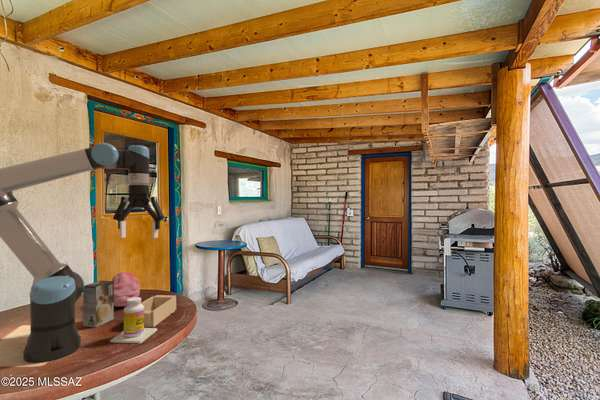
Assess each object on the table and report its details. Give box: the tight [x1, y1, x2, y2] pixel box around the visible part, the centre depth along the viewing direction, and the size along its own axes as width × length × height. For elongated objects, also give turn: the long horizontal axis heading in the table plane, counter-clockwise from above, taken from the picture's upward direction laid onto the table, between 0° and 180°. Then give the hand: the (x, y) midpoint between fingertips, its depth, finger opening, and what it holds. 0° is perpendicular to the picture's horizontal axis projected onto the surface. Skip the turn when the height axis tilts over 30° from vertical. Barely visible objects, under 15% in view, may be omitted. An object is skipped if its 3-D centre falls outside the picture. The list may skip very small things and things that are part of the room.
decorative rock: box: [111, 271, 141, 308], centre depth 152 cm, size 19×14×15 cm
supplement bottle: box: [123, 296, 145, 337], centre depth 117 cm, size 7×7×13 cm
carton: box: [141, 294, 177, 328], centre depth 135 cm, size 11×23×6 cm, turn 176°
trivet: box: [110, 327, 158, 344], centre depth 117 cm, size 11×11×1 cm
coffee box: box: [82, 280, 115, 328], centre depth 129 cm, size 9×6×16 cm
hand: (139, 237), depth 128 cm, fingers open, 13 cm apart
